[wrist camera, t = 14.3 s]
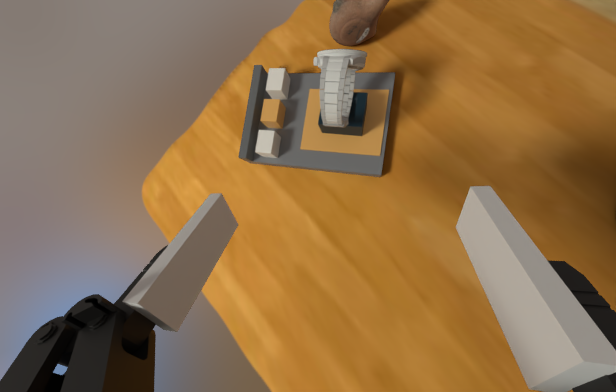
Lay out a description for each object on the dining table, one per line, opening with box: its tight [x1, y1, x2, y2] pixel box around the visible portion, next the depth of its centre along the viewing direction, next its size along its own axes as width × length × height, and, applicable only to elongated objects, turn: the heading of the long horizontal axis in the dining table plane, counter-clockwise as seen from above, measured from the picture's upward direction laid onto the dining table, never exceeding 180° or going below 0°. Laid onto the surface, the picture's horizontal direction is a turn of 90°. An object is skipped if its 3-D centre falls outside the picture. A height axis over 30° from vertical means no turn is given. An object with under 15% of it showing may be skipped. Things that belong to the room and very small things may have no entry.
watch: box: [314, 49, 368, 136], centre depth 25 cm, size 6×8×11 cm
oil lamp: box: [329, 0, 389, 46], centre depth 28 cm, size 9×4×8 cm, turn 99°
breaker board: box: [239, 65, 395, 177], centre depth 31 cm, size 20×14×4 cm
